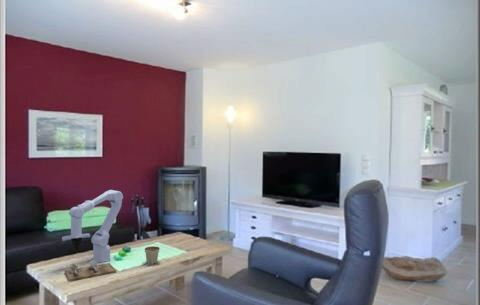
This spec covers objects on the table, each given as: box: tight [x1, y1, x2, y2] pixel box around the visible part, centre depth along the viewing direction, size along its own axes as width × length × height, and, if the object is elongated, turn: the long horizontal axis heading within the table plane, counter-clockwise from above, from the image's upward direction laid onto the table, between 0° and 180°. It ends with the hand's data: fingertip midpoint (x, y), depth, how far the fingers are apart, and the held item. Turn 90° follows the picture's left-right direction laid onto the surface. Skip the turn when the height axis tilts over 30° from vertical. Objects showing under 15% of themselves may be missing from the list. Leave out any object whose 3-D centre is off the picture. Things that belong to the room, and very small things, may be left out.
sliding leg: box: [88, 260, 98, 271], centre depth 198 cm, size 3×8×3 cm, turn 35°
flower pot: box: [143, 246, 161, 265], centre depth 214 cm, size 9×9×9 cm
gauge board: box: [64, 262, 117, 282], centre depth 196 cm, size 24×14×6 cm, turn 125°
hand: (76, 250), depth 204 cm, fingers closed
